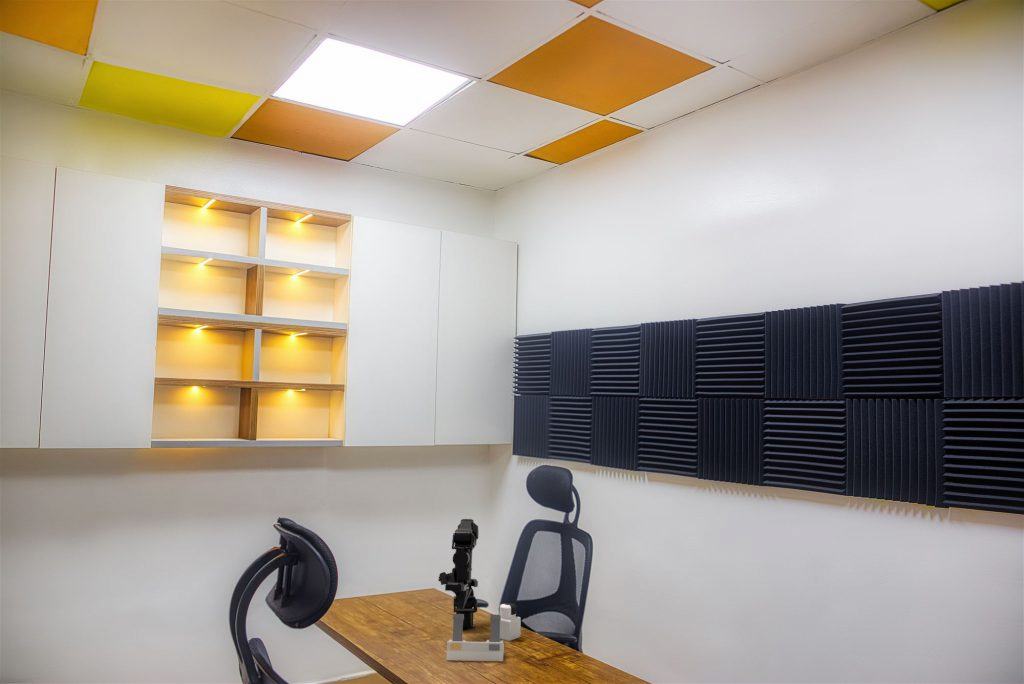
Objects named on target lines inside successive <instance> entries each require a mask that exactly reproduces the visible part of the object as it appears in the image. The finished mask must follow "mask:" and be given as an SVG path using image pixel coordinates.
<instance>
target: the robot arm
mask: <svg viewBox="0 0 1024 684" xmlns="http://www.w3.org/2000/svg"><path fill="white" fill-rule="evenodd" d="M479 535H480V534H479V525H477V524H476V523H475V522H474V519H472V518H462V519H460V523H459V524H458V526H457V528H456V529H455V530H454V533H453V534H452V541H451V542H452V543H451V550H455V552H454V554H453V555H452V562H453V564H454V567H453V568H452V569H451V572H449V573H448V572H447V573H446V572H445V571H443V572H441V573H439V576H438V582H440V585H441V586H443V585H444V590H445V592H447V591H448V592H452V593H453V594H454V596H453V614H464V620H463V631H468V630H472V629H476V628H477V626H476V625H474V614H476V613H477V612H478V600H477V598H476V596H475V592H474V589H473V588H477V587H479V581H478V580H477V579H476V578H472V571H473V568H472V565H473V550H474V549H475V547H476V546H477V544H478V543H477V541H478V540H479Z"/></svg>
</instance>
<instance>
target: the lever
mask: <svg viewBox="0 0 1024 684" xmlns="http://www.w3.org/2000/svg"><path fill="white" fill-rule="evenodd" d="M489 616H490V617H489V619H490V632H489V633H490V637H489V642H501V639H500V620H501V615H500V614H490V615H489Z"/></svg>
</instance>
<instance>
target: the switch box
mask: <svg viewBox="0 0 1024 684" xmlns="http://www.w3.org/2000/svg"><path fill="white" fill-rule="evenodd" d="M504 652H505V646H504V640H503V639H500V642H490V639H487V640H486V641H466V639H462V642H457V641H453V639H449V640H448V641H447V642H446V661H464V662H466V661H469V662H470V661H472V662H473V661H474V662H475V661H476V662H504Z"/></svg>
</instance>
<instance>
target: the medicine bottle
mask: <svg viewBox="0 0 1024 684" xmlns="http://www.w3.org/2000/svg"><path fill="white" fill-rule="evenodd" d="M499 615H501V620H500V640H503V641H507V642H511V641H514V640H516V639H518V638H520V637H521V635H522V634H521V627H522V626H521V625H522V624H521V622H522V621H521V617H520V616H516V615H517V606H516V604H514V603H510V602H505V603H501V604H499Z"/></svg>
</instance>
